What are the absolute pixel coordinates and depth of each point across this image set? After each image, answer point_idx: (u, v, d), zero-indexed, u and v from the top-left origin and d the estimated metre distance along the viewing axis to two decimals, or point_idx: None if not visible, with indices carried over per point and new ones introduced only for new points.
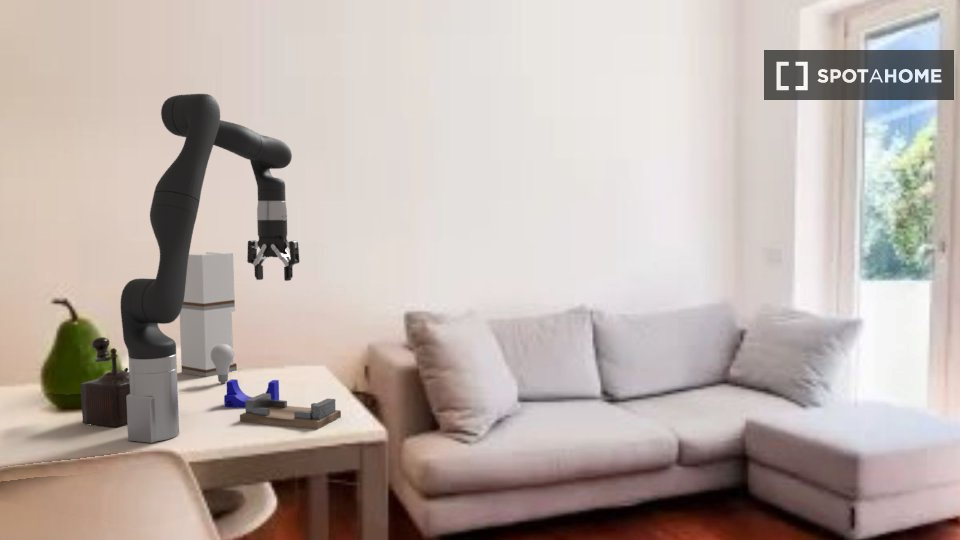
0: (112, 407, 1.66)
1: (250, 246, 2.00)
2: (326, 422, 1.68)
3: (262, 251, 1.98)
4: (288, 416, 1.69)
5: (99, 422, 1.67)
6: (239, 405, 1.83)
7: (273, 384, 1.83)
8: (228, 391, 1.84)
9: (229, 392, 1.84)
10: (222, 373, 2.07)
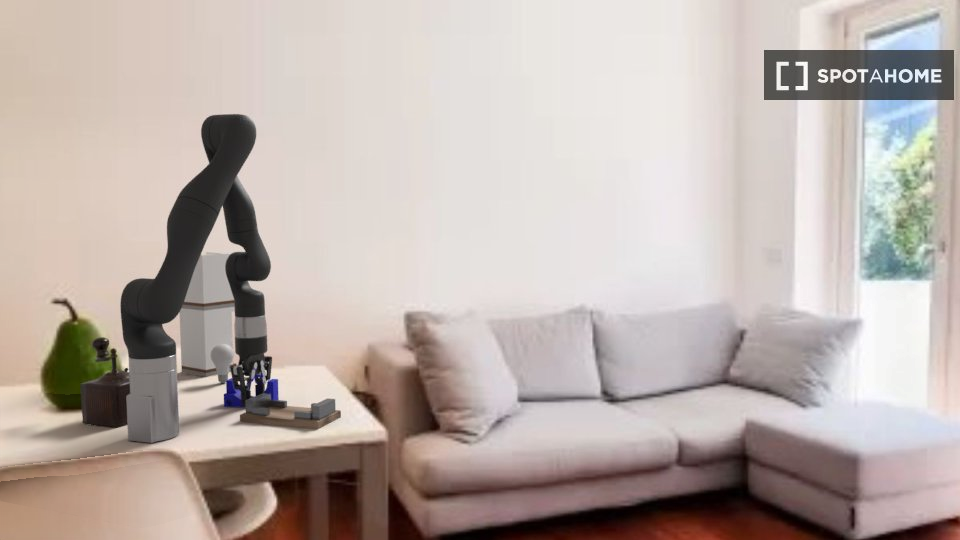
0: (112, 407, 1.66)
1: (242, 372, 1.79)
2: (326, 422, 1.68)
3: (254, 371, 1.82)
4: (288, 416, 1.69)
5: (99, 422, 1.67)
6: (238, 404, 1.83)
7: (272, 383, 1.83)
8: (228, 390, 1.85)
9: (229, 391, 1.85)
10: (222, 373, 2.07)
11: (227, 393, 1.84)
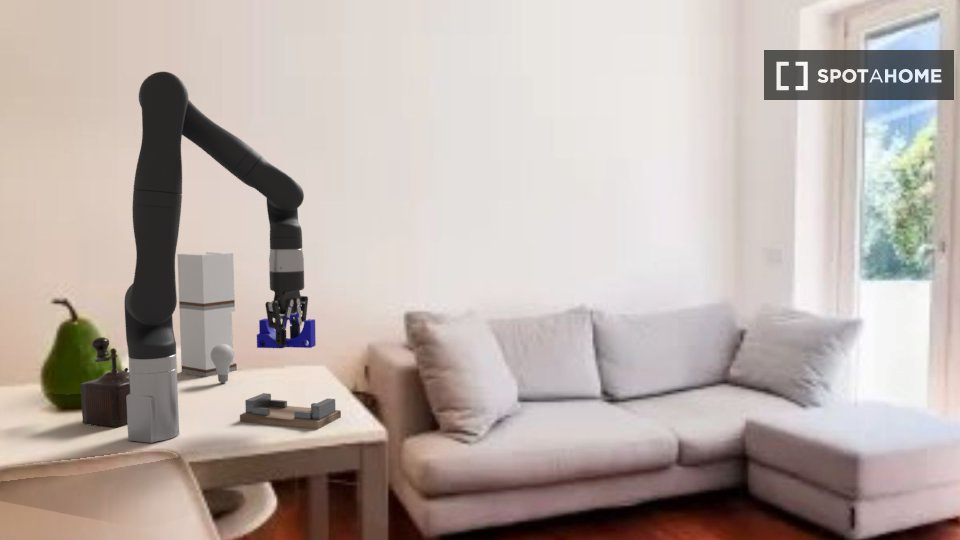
0: (112, 407, 1.66)
1: (277, 308, 1.64)
2: (326, 422, 1.68)
3: (290, 309, 1.68)
4: (288, 416, 1.69)
5: (99, 422, 1.67)
6: (272, 345, 1.69)
7: (309, 323, 1.69)
8: (261, 330, 1.71)
9: (262, 331, 1.71)
10: (222, 373, 2.07)
11: (260, 333, 1.70)
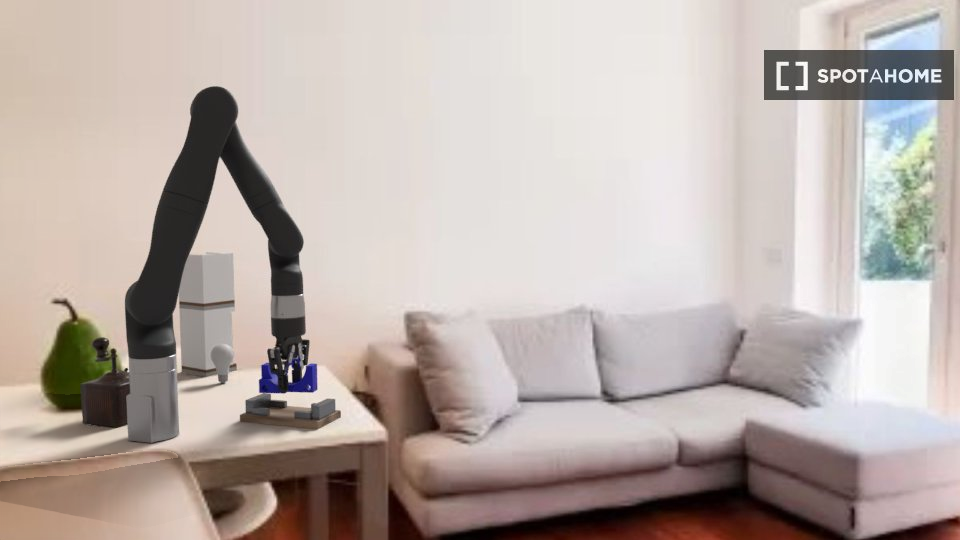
0: (112, 407, 1.66)
1: (279, 355, 1.65)
2: (326, 422, 1.68)
3: (291, 354, 1.69)
4: (288, 416, 1.69)
5: (99, 422, 1.67)
6: (275, 390, 1.70)
7: (311, 368, 1.70)
8: (263, 375, 1.71)
9: (264, 376, 1.71)
10: (222, 373, 2.07)
11: (262, 378, 1.71)
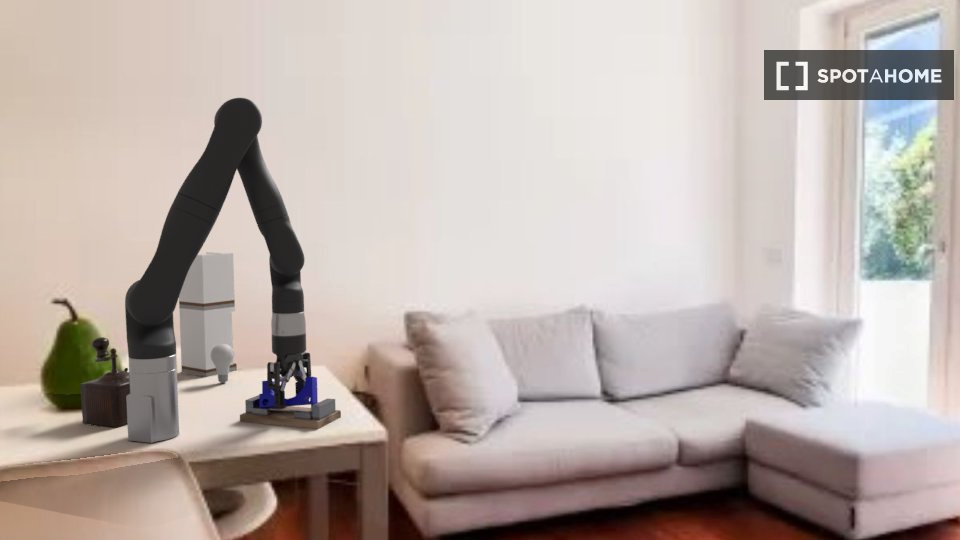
0: (112, 407, 1.66)
1: (279, 369, 1.65)
2: (326, 422, 1.68)
3: (291, 371, 1.69)
4: (288, 416, 1.69)
5: (99, 422, 1.67)
6: None
7: (311, 378, 1.72)
8: (264, 391, 1.73)
9: (265, 392, 1.73)
10: (222, 373, 2.07)
11: (263, 393, 1.72)
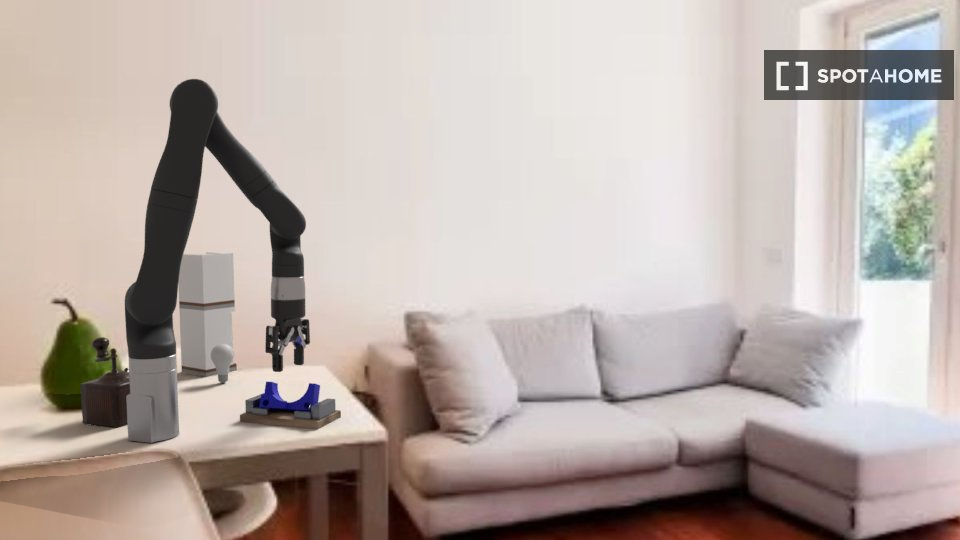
0: (112, 407, 1.66)
1: (277, 333, 1.64)
2: (326, 422, 1.68)
3: (289, 336, 1.68)
4: (288, 416, 1.69)
5: (99, 422, 1.67)
6: (275, 404, 1.70)
7: (314, 385, 1.71)
8: (266, 391, 1.73)
9: (267, 392, 1.73)
10: (222, 373, 2.07)
11: (265, 394, 1.72)
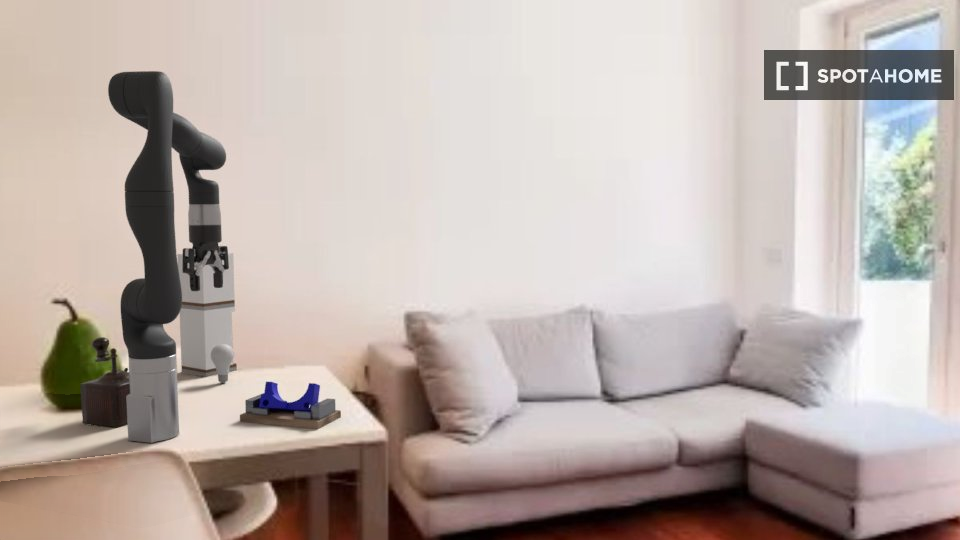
0: (112, 407, 1.66)
1: (193, 254, 1.80)
2: (326, 422, 1.68)
3: (206, 259, 1.83)
4: (288, 416, 1.69)
5: (99, 422, 1.67)
6: (275, 404, 1.70)
7: (314, 385, 1.71)
8: (266, 391, 1.73)
9: (267, 392, 1.73)
10: (222, 373, 2.07)
11: (265, 394, 1.72)
